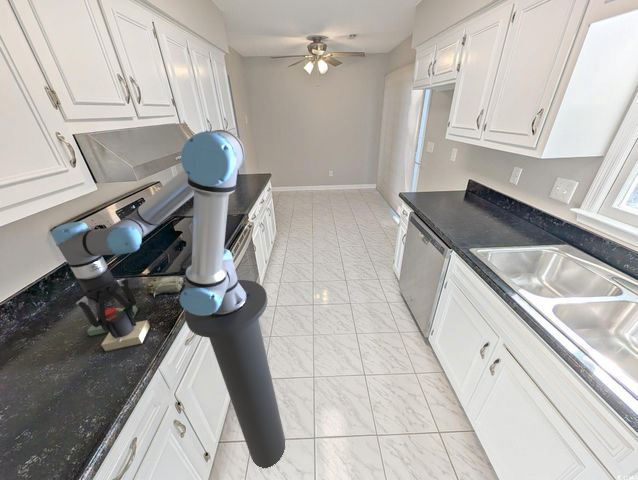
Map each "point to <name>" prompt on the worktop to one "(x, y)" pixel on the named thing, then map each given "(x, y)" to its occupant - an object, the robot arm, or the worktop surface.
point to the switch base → (99, 329)
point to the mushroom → (165, 285)
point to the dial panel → (127, 337)
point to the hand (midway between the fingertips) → (124, 330)
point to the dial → (121, 323)
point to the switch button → (110, 312)
